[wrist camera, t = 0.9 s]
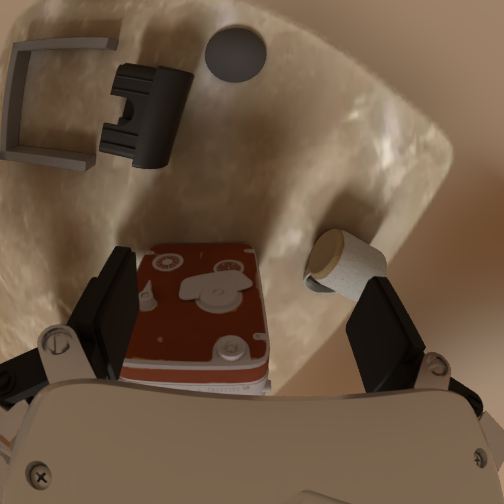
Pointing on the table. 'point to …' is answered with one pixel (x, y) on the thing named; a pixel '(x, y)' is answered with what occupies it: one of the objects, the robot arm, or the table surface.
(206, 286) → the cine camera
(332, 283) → the ceramic mug
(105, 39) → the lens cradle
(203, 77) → the table surface
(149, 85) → the end cap
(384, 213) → the table surface
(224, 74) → the lens cap
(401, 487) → the robot arm
